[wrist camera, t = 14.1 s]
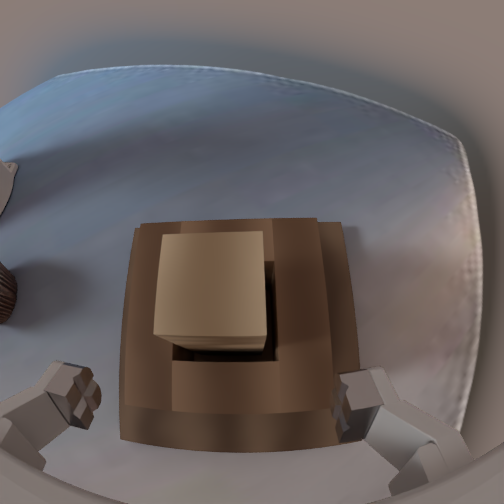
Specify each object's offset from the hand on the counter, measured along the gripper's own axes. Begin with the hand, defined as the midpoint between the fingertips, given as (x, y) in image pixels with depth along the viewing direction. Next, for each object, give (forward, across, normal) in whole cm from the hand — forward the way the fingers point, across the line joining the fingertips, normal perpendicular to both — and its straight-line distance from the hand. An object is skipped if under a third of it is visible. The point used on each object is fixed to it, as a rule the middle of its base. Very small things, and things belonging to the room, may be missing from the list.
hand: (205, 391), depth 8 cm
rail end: (+12, 0, +6) cm, 14 cm away
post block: (+15, 0, +9) cm, 18 cm away
